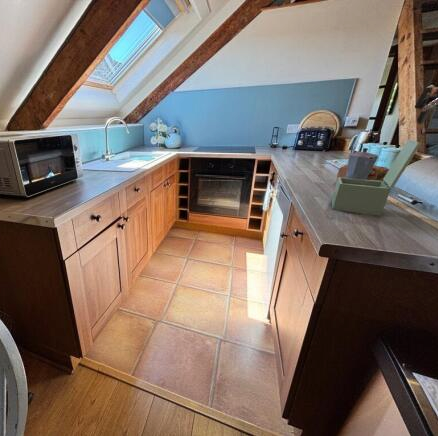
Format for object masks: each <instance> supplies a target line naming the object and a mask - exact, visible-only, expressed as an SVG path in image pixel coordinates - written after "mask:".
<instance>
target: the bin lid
mask: <svg viewBox="0 0 438 436" xmlns="http://www.w3.org/2000/svg"><path fill="white" fill-rule="evenodd" d="M421 145H422V143H421V142H419V141H416V140H412V139H406V141H405V143H404V144H403V146H402V148H401V150H399V152H398V154H397V156H396V158H395V159H394V161H393V162H392V164H391V166H390V167H389V168H388V169H389V171H388V172H387V174H386V176H385V177H384V179H383V180H384V181H385V182H386V183H387V184H388V185H389V187H390V188H391V189H392V188H394V187H395V185H396V184H397V183H398V181H399V180H400V179H401V178H400V177H401V176H402V175H403V173H404V171H405V170H406V168H407V167H408V165H409V164H410V162H411V160H412V159H413V157H414V156H415V154H417V151H418V150H419V148H420V147H421Z"/></svg>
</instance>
